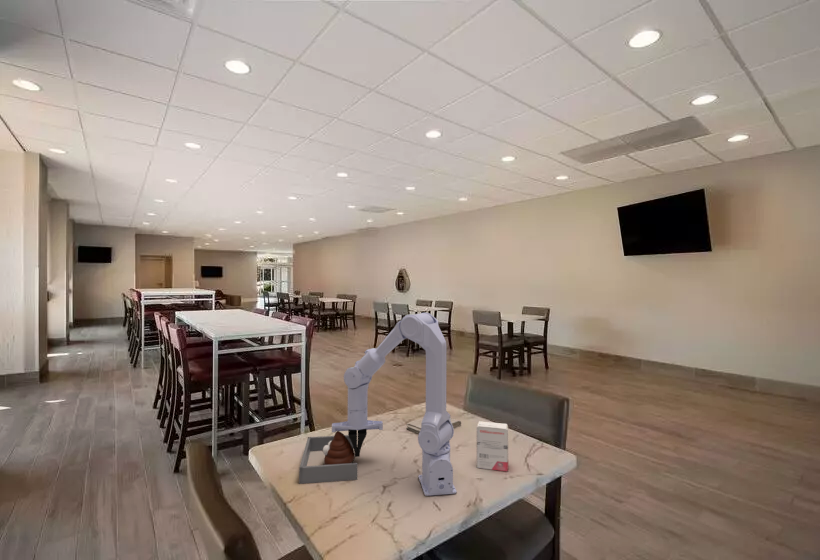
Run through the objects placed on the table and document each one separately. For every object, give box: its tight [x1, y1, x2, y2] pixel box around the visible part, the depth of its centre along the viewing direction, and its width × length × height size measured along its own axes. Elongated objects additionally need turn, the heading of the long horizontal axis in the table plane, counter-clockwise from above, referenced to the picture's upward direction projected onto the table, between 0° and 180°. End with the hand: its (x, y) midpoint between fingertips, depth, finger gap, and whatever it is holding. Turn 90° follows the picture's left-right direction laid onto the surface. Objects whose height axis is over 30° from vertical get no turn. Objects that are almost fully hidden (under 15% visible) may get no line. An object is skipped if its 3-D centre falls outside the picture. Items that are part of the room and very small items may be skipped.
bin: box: [298, 434, 359, 485], centre depth 108 cm, size 20×15×4 cm
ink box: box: [476, 420, 509, 472], centre depth 107 cm, size 9×5×12 cm, turn 74°
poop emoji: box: [322, 431, 356, 465], centre depth 108 cm, size 10×8×9 cm
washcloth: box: [405, 417, 462, 436], centre depth 136 cm, size 12×18×3 cm, turn 134°
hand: (357, 455), depth 109 cm, fingers closed
